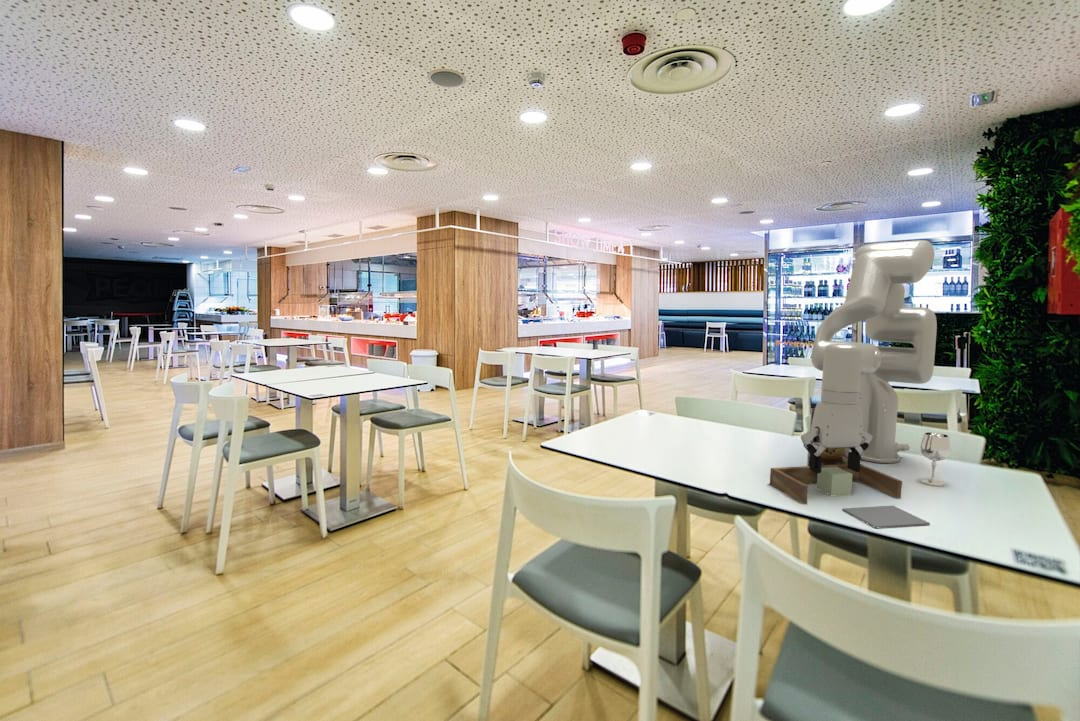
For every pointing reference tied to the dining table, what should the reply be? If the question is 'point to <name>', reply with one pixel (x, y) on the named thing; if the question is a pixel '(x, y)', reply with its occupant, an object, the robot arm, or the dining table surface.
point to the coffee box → (831, 452)
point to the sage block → (834, 481)
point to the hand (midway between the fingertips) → (834, 470)
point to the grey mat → (885, 516)
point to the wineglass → (935, 452)
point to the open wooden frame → (798, 477)
